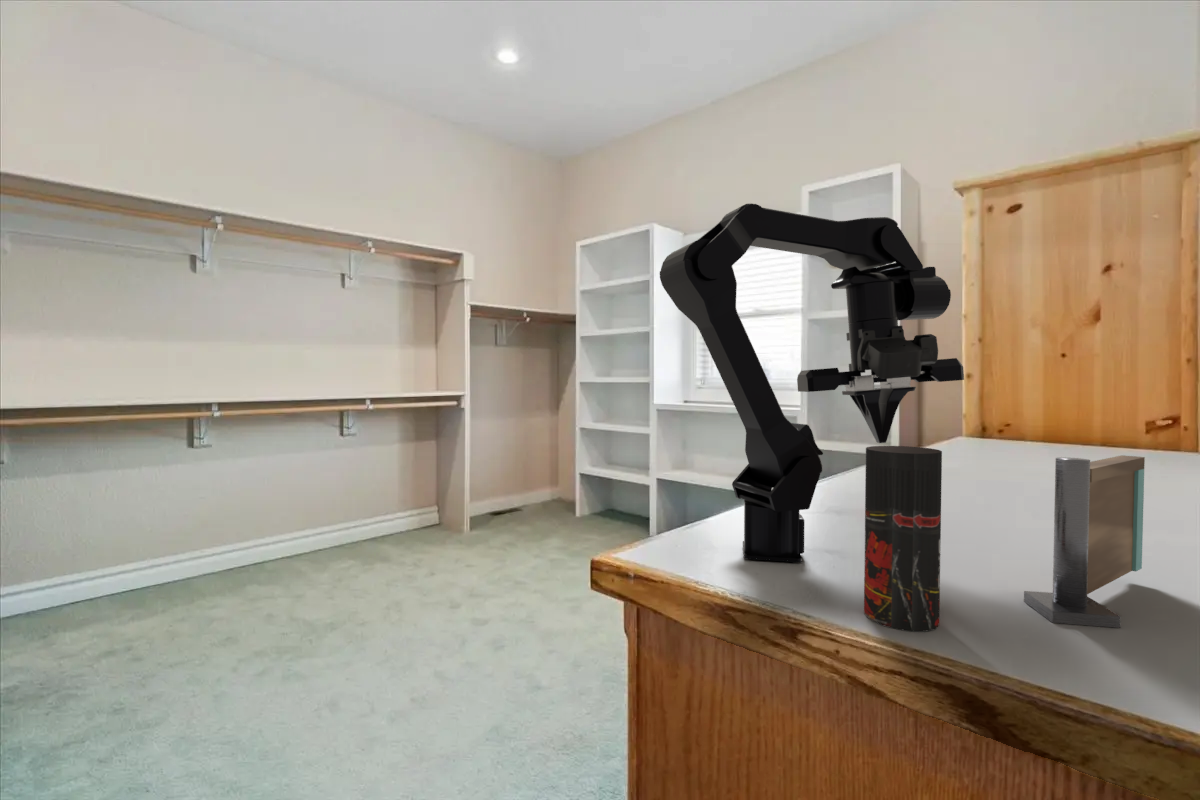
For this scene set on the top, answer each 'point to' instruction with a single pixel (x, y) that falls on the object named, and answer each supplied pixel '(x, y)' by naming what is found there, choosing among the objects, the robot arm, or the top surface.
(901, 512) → the deodorant
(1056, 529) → the hinge post
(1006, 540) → the top surface
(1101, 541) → the gate
